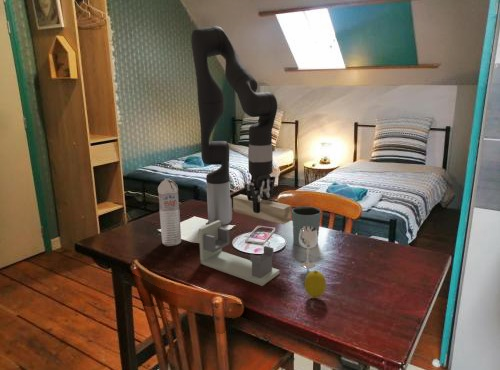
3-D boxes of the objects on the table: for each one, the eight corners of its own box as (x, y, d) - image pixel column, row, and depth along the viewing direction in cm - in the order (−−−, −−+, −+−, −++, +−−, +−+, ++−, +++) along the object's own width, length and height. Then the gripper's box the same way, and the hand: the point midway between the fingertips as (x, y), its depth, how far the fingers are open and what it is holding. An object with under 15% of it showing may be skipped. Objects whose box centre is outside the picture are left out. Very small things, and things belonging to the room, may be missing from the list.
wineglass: (318, 261, 126) (319, 226, 122) (315, 270, 120) (316, 233, 117) (300, 259, 127) (301, 224, 124) (296, 267, 122) (297, 231, 119)
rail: (240, 208, 135) (240, 194, 134) (290, 220, 123) (290, 205, 122) (233, 211, 132) (233, 197, 131) (283, 224, 120) (283, 209, 119)
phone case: (263, 246, 139) (275, 230, 153) (263, 242, 139) (275, 227, 152) (244, 243, 142) (257, 228, 155) (244, 239, 141) (257, 225, 155)
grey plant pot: (287, 245, 138) (288, 213, 135) (295, 235, 147) (296, 204, 144) (316, 250, 134) (317, 216, 131) (322, 238, 143) (324, 207, 140)
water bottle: (183, 239, 145) (179, 173, 138) (178, 247, 138) (173, 177, 132) (165, 238, 145) (160, 172, 139) (159, 246, 139) (154, 177, 132)
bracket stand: (219, 253, 132) (218, 220, 129) (279, 273, 118) (279, 236, 115) (200, 263, 125) (198, 228, 122) (262, 286, 112) (262, 246, 108)
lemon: (302, 293, 108) (303, 266, 105) (322, 291, 108) (323, 265, 106) (306, 304, 102) (307, 276, 100) (327, 303, 103) (329, 275, 101)
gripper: (263, 153, 130) (263, 202, 135) (236, 161, 119) (238, 214, 124) (282, 155, 126) (282, 206, 130) (257, 164, 115) (257, 219, 119)
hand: (260, 210), depth 127 cm, fingers closed on rail, 4 cm apart
